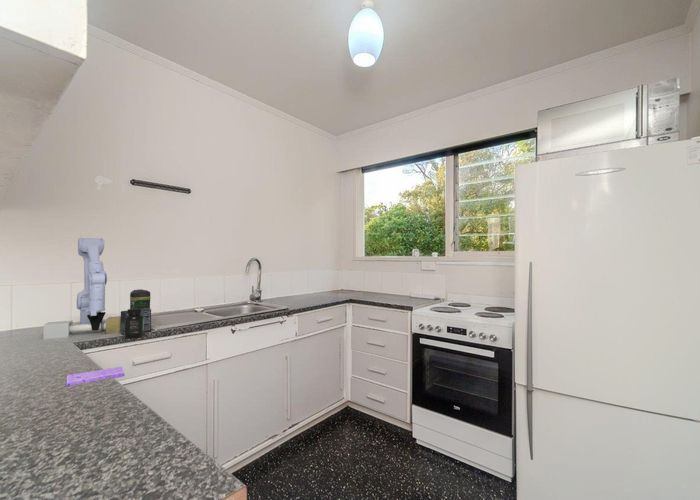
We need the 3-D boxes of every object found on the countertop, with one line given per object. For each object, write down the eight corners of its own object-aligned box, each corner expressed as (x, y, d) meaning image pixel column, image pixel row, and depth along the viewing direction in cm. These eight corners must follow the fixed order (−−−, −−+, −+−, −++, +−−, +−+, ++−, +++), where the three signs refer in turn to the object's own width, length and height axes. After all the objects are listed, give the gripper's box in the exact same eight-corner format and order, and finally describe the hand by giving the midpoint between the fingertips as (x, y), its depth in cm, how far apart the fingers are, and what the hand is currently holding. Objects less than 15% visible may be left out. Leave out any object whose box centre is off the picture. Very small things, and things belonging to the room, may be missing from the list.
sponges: (67, 381, 88) (67, 375, 89) (122, 371, 96) (122, 365, 96) (65, 389, 83) (65, 382, 83) (124, 378, 91) (124, 371, 91)
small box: (145, 329, 152) (146, 307, 153) (151, 331, 148) (152, 308, 149) (119, 334, 144) (120, 310, 144) (125, 336, 140) (125, 311, 140)
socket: (105, 334, 143) (106, 319, 144) (108, 331, 150) (108, 317, 150) (119, 332, 146) (119, 318, 146) (121, 329, 152) (121, 316, 152)
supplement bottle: (147, 335, 141) (147, 307, 142) (135, 338, 135) (136, 310, 135) (132, 334, 142) (133, 307, 142) (120, 338, 135) (120, 310, 136)
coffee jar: (152, 327, 158) (152, 289, 159) (133, 329, 152) (134, 290, 153) (145, 324, 165) (146, 288, 165) (127, 327, 159) (127, 289, 159)
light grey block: (43, 339, 133) (43, 324, 134) (48, 336, 139) (48, 322, 139) (68, 337, 137) (68, 322, 138) (72, 334, 143) (72, 320, 143)
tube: (61, 335, 137) (61, 325, 137) (63, 333, 141) (64, 324, 141) (112, 330, 146) (113, 321, 146) (114, 329, 150) (114, 320, 150)
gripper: (89, 298, 149) (88, 327, 149) (81, 301, 137) (81, 333, 136) (108, 297, 153) (107, 325, 152) (102, 300, 140) (101, 331, 140)
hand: (96, 329), depth 145 cm, fingers closed on tube, 3 cm apart
